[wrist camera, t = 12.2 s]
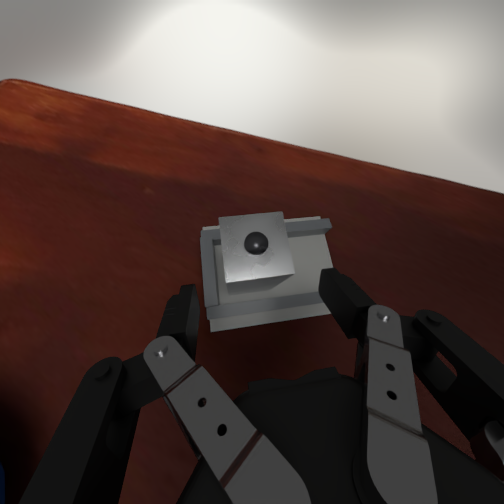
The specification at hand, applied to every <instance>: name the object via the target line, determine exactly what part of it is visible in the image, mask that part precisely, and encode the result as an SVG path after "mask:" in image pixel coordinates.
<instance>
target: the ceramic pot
mask: <svg viewBox="0 0 504 504" xmlns="http://www.w3.org/2000/svg"><path fill="white" fill-rule="evenodd" d="M0 504H5V471H4V469H3V466H2V464H1V461H0Z"/></svg>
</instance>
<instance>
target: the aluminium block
mask: <svg viewBox="0 0 504 504" xmlns="http://www.w3.org/2000/svg"><path fill="white" fill-rule="evenodd" d="M219 226H220V235H221V244H222V253H223V263H224V272H225V281H226V286H227V289H228V292H229V295H230V296H232V295H239V294H246V293H253V292H260V291H268V290H271V289H273V288H274V287H276V286H277V285H279V284H280V283H282V282H283V281H285V280H286V279H288V278H289V277H291V276H292V275H294V274H295V270H294V265H293V260H292V256H291V251H290V246H289V241H288V236H287V231H286V227H285V222H284V217H283V212H272V213H261V214H250V215H240V216H229V217H219Z"/></svg>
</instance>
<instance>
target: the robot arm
mask: <svg viewBox="0 0 504 504" xmlns="http://www.w3.org/2000/svg"><path fill="white" fill-rule="evenodd" d="M318 292H319V295H320V297H321V299H322V301H323V302H324V303H325V305H326V306H327V308H328V309H329V311H330V312H331V314H332V315H333V317H334V318H335V320H336V321H337V323H338V324H339V326H340V327H341V329H342V330H343V332H344V333H345V335H346V336H347V338H348V339H351V338H357V339H358V344H357V352H356V362H355V372H354V378H352V377H349V376H346V375H342V374H338V372H337V370H336V368H335V367H330V368H325V369H319V370H314V371H312V372H310V373H308V374H306V375H304V376H302V377H300V378H299V379H297V380H283V379H272V378H269V379H264V380H258V381H253V382H248V389H249V390H247V391H245V392H243V393H242V394H241V395H239V396H238V397H237V398H236V399H235V400H234V401H233V402H232V400H231V399H230V398H229V397H228V396H227V395H226V393H225V392H224V391H223V390H222V389H221V387H220V386H219V385H218V384H217V383H216V382H215V380H214V379H213V378H212V377H211V376H210V375H209V373H208V372H207V371H206V370H205V369H204V368H203V367H202V366H201V365H200V364H199V365H196V364H195V354H196V345H197V335H198V325H199V316H200V306H199V300H198V296H197V291H196V287H195V284H190V285H182V286H181V289H180V293H179V294H178V295H173V296H172V297H171V298H170V299H169V300H168V302H167V304H166V308H165V311H164V314H163V317H162V320H161V323H160V327H159V330H158V333H157V336H156V339H155V340H153V341H152V342H151V343H149V345H148V346H147V347H146V349H145V351H144V352H143V353H141V354H139V355H137V356H135V357H132V358H130V359H128V360H125V361H123V362H122V361H121V359H120V358H118V357H108V358H105V359H103V360H101V361H99V362H97V363H96V364H95V365H93V366H92V367H91V368H90V369H89V370H88V371H87V372H86V374H85V375H84V377H83V379H82V381H81V383H80V385H79V387H78V389H77V391H76V393H75V395H74V397H73V398H72V400H71V402H70V404H69V406H68V408H67V410H66V412H65V414H64V416H63V418H62V420H61V422H60V424H59V426H58V428H57V430H56V432H55V434H54V435H53V437H52V439H51V441H50V443H49V445H48V447H47V449H46V451H45V453H44V455H43V457H42V459H41V461H40V463H39V465H38V467H37V469H36V471H35V472H34V474H33V476H32V478H31V480H30V482H29V484H28V486H27V488H26V490H25V492H24V494H23V496H22V498H21V500H20V502H19V504H118V502H119V498H120V494H121V489H122V485H123V481H124V477H125V472H126V468H127V464H128V460H129V456H130V451H131V447H132V443H133V439H134V434H135V430H136V426H137V422H138V417H139V413H140V409H141V407H142V406H144V405H146V404H148V403H150V402H152V401H154V400H156V399H158V398H160V397H163V399H164V401H165V402H166V404H167V406H168V408H169V409H170V411H171V413H172V415H173V416H174V418H175V420H176V421H177V423H178V425H179V427H180V429H181V430H182V432H183V434H184V436H185V438H186V440H187V442H188V443H189V445H190V447H191V449H192V450H193V452H194V454H195V456H196V457H197V459H198V461H199V462H198V463H197V465H196V467H195V469H194V471H193V473H192V475H191V477H190V478H189V480H188V482H187V484H186V486H185V488H184V490H183V492H182V493H181V495H180V497H179V499H178V501H177V503H176V504H504V365H503V364H502V363H501V362H500V361H498V360H497V359H496V358H495V357H494V356H492V355H491V354H490V353H489V352H487V351H486V350H485V349H484V348H482V347H481V346H480V345H479V344H478V343H476V342H475V341H474V340H473V339H471V338H470V337H469V336H468V335H466V334H465V333H464V332H463V331H462V330H460V329H459V328H458V327H457V326H455V325H454V324H453V323H452V322H451V321H449V320H448V319H447V318H445V317H444V316H442V315H441V314H439V313H436V312H434V311H430V310H419V311H417V313H416V315H415V317H410V316H400V315H398V314H397V313H396V312H395V311H394V310H392V309H390V308H388V307H386V306H382V305H377V304H376V303H375V302H374V301H373V300H372V299H371V298H370V297H369V296H368V295H367V294H366V293H365V292H364V291H363V290H362V289H361V288H360V287H359V286H358V285H356V283H355V282H354V281H353V280H352V279H351V278H349V277H347V276H346V275H344V274H340V273H339V272H338V271H337V269H336V268H326V269H322V270H321V273H320V280H319V286H318ZM438 351H439V352H440V353H441V354H442V355H443V356H444V357H445V358H446V359H447V360H448V361H449V362H450V363H451V364H452V365H453V366H454V368H455V369H456V371H457V377H456V376H455V375H454V373H453V372H452V371H451V370H450V369H449V368H448V367H447V366H446V365H445V364H444V363H443V362H442V361H441V360H440V359H439V358H438V357H437V356H436V354H437V353H438ZM413 372H414V373H415V374H416V375H417V377H418V378H419V379H420V380H421V382H422V383H423V384H424V385H425V387H426V388H427V389H428V390H429V392H430V393H431V394H432V395H433V397H434V398H435V399H436V400H437V402H438V403H439V404H440V405H441V407H442V408H443V409H444V410H445V412H446V413H447V414H448V415H449V417H450V418H451V419H452V420H453V422H454V423H455V424H456V425H457V427H458V428H459V429H460V430H461V432H462V433H463V434H464V435H465V437H466V438H467V439H468V440H469V442H470V447H471V450H472V452H473V454H474V456H475V458H476V459H475V460H474V459H472V458H471V457H469V456H468V455H466V454H465V453H463V452H462V451H461V450H459V449H458V448H456V447H455V446H453V445H452V444H451V443H449V442H448V441H446V440H445V439H443V438H442V437H440V436H439V435H438V434H436V433H435V432H433V431H432V430H430V429H429V428H428V427H426V426H425V425H423V424H422V423H421V422H420V415H419V408H418V401H417V395H416V388H415V381H414V375H413Z"/></svg>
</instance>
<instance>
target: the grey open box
mask: <svg viewBox="0 0 504 504" xmlns="http://www.w3.org/2000/svg"><path fill="white" fill-rule="evenodd" d="M284 222H285V227H286V231H287V236H288V241H289V246H290V251H291V256H292V260H293V265H294V270H295V274H294V275H292V276H291V277H289V278H288V279H286V280H285V281H283V282H282V283H280V284H279V285H277V286H276V287H274V288H273V289H271V290H268V291H260V292H253V293H246V294H239V295H232V296H230V295H229V292H228V289H227V286H226V281H225V272H224V263H223V253H222V244H221V235H220V226H210V227H203V230H202V231H201V237H200V244H201V258H202V272H203V286H204V300H205V307H206V308H207V320H209V319H210V329H211V332H215V331H221V330H228V329H234V328H241V327H247V326H254V325H260V324H267V323H273V322H280V321H286V320H293V319H299V318H306V317H312V316H319V315H325V314H331V312H330V311H329V309H328V308H327V306H326V305H325V303H324V302H323V301H322V299H321V297H320V295H319V292H318V286H319V280H320V273H321V270H322V269H326V268H333V265H332V262H331V258H330V254H329V250H328V246H327V242H326V238H325V233H326V232H327V231H328V230H330V229H331V228H332V227H331V223H330V220H329V218H328V219H320V216H317V217H307V218H296V219H285V220H284Z"/></svg>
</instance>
